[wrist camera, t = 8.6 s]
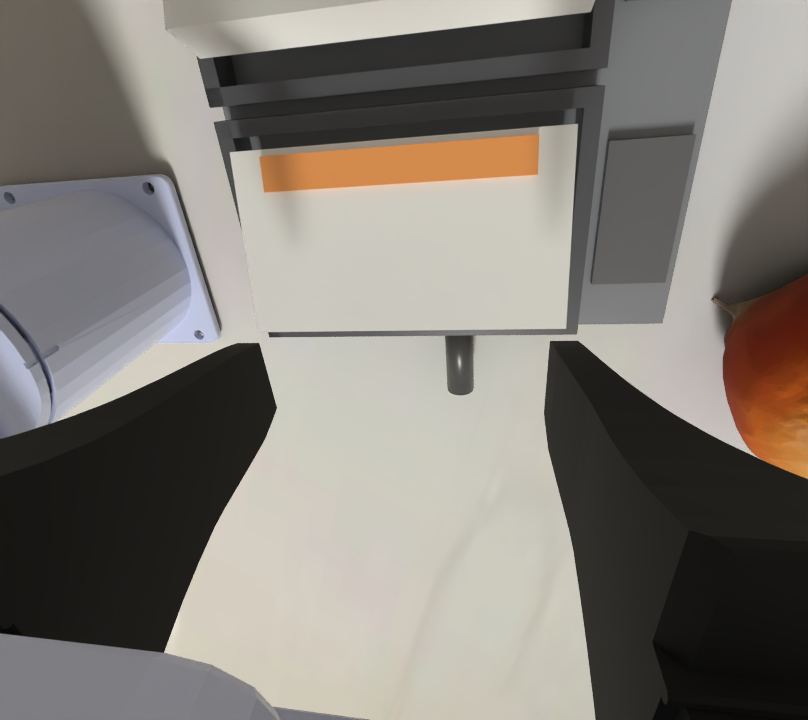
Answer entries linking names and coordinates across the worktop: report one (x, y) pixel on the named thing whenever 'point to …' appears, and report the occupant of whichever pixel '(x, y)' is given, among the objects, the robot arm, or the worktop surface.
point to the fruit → (770, 374)
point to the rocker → (411, 232)
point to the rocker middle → (335, 20)
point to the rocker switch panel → (513, 109)
